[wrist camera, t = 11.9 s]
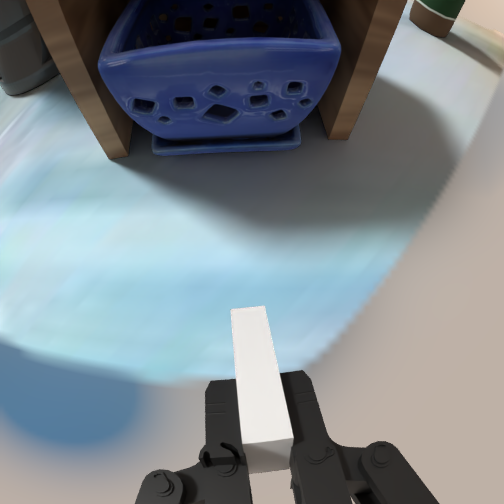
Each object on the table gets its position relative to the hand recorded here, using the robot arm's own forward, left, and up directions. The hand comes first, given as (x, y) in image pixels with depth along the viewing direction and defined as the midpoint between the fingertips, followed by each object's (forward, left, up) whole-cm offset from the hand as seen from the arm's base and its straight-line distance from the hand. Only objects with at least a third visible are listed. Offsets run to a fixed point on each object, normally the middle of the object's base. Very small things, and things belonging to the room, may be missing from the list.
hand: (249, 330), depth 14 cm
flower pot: (0, +19, -6) cm, 20 cm away
